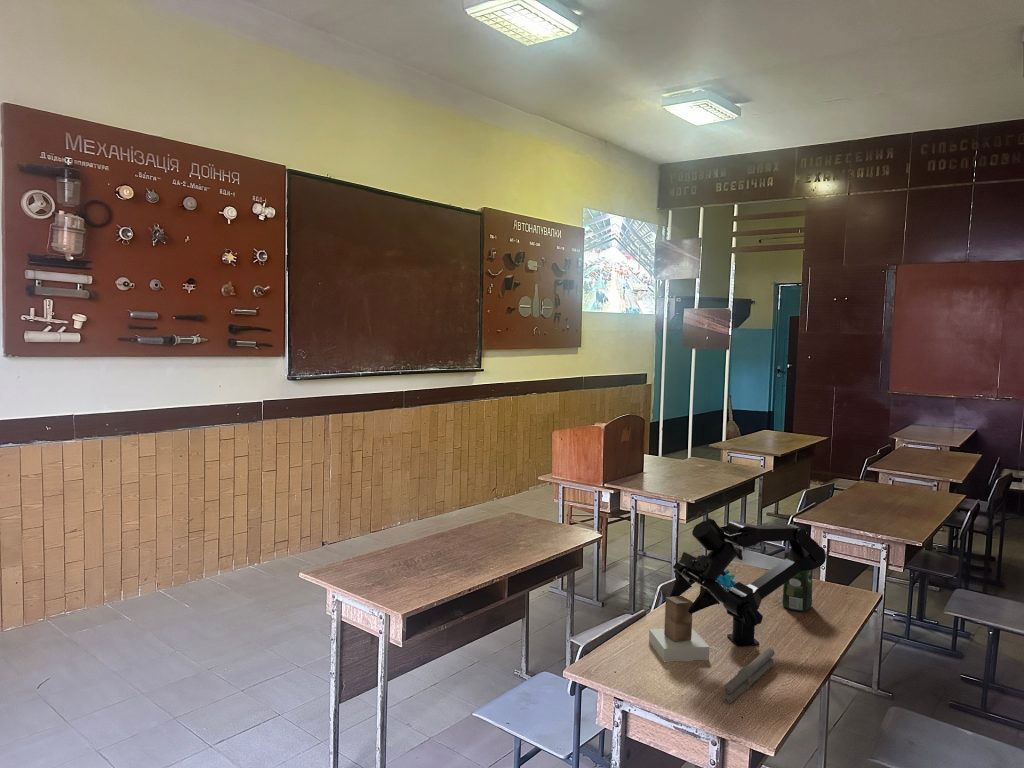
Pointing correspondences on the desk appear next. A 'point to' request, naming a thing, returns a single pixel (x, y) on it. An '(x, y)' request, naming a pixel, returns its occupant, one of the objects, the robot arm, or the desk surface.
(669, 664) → the desk surface
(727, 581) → the gear
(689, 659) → the plate
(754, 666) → the metal rod assembly
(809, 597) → the coffee jar
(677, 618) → the walnut block
